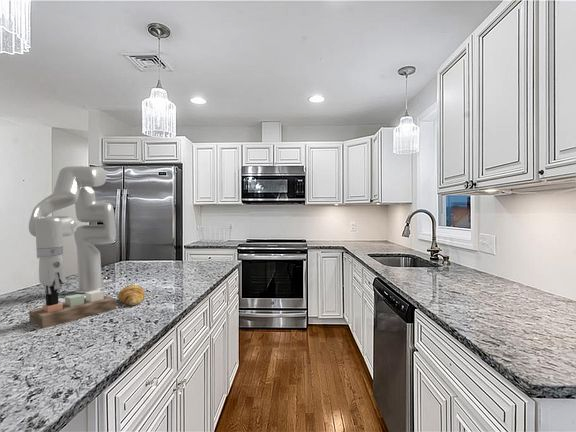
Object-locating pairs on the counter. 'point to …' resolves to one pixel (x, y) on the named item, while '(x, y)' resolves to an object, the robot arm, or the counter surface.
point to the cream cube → (94, 296)
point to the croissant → (131, 295)
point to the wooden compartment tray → (71, 312)
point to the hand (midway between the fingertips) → (52, 304)
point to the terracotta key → (52, 307)
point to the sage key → (74, 300)
